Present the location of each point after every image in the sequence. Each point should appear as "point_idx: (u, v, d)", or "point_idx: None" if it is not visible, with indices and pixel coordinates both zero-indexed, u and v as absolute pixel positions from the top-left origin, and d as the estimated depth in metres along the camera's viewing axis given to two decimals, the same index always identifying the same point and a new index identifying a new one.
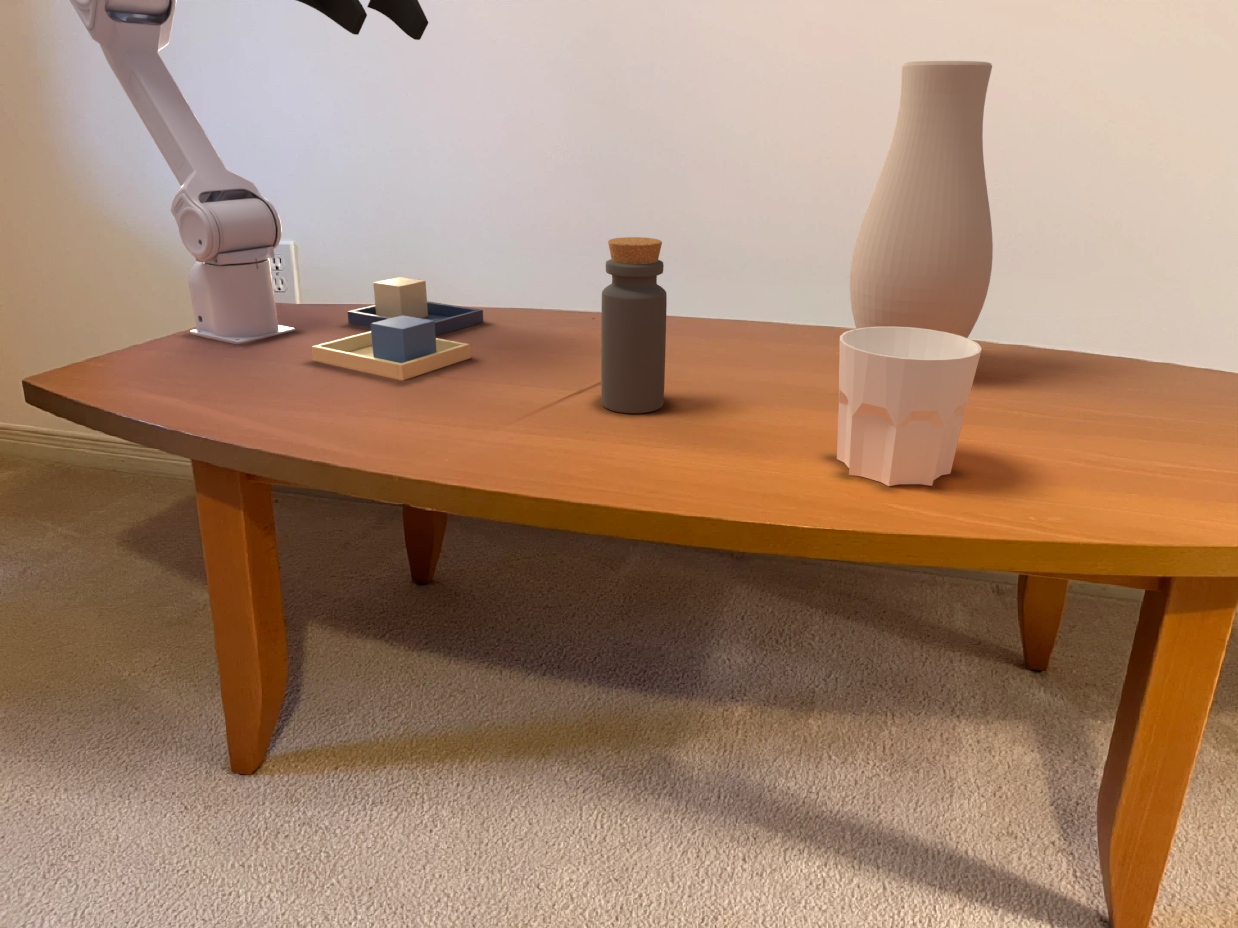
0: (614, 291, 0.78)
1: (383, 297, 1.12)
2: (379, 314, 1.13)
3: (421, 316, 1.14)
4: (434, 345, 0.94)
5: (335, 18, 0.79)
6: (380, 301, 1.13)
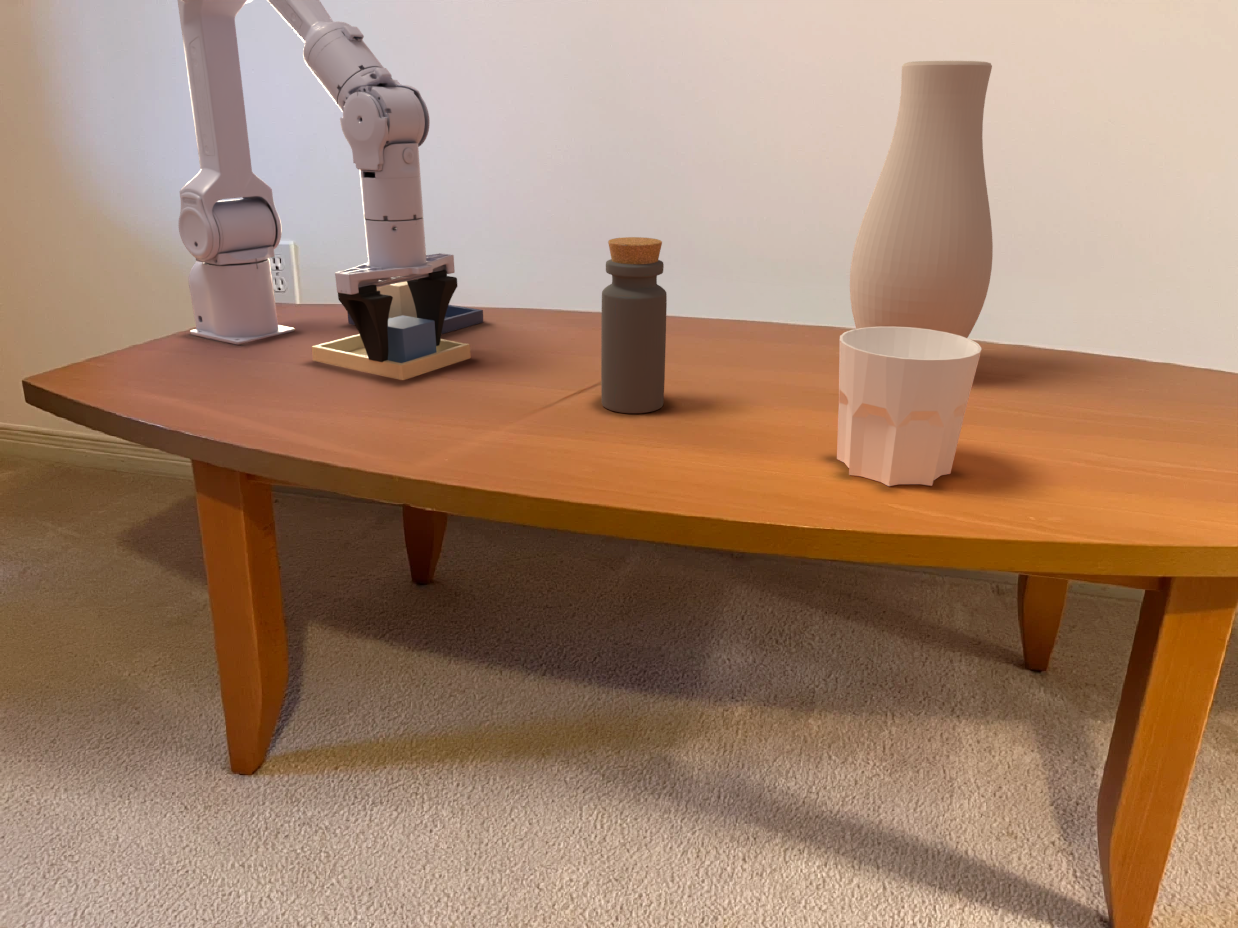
0: (614, 291, 0.78)
1: None
2: None
3: None
4: (434, 345, 0.94)
5: (363, 339, 0.90)
6: None
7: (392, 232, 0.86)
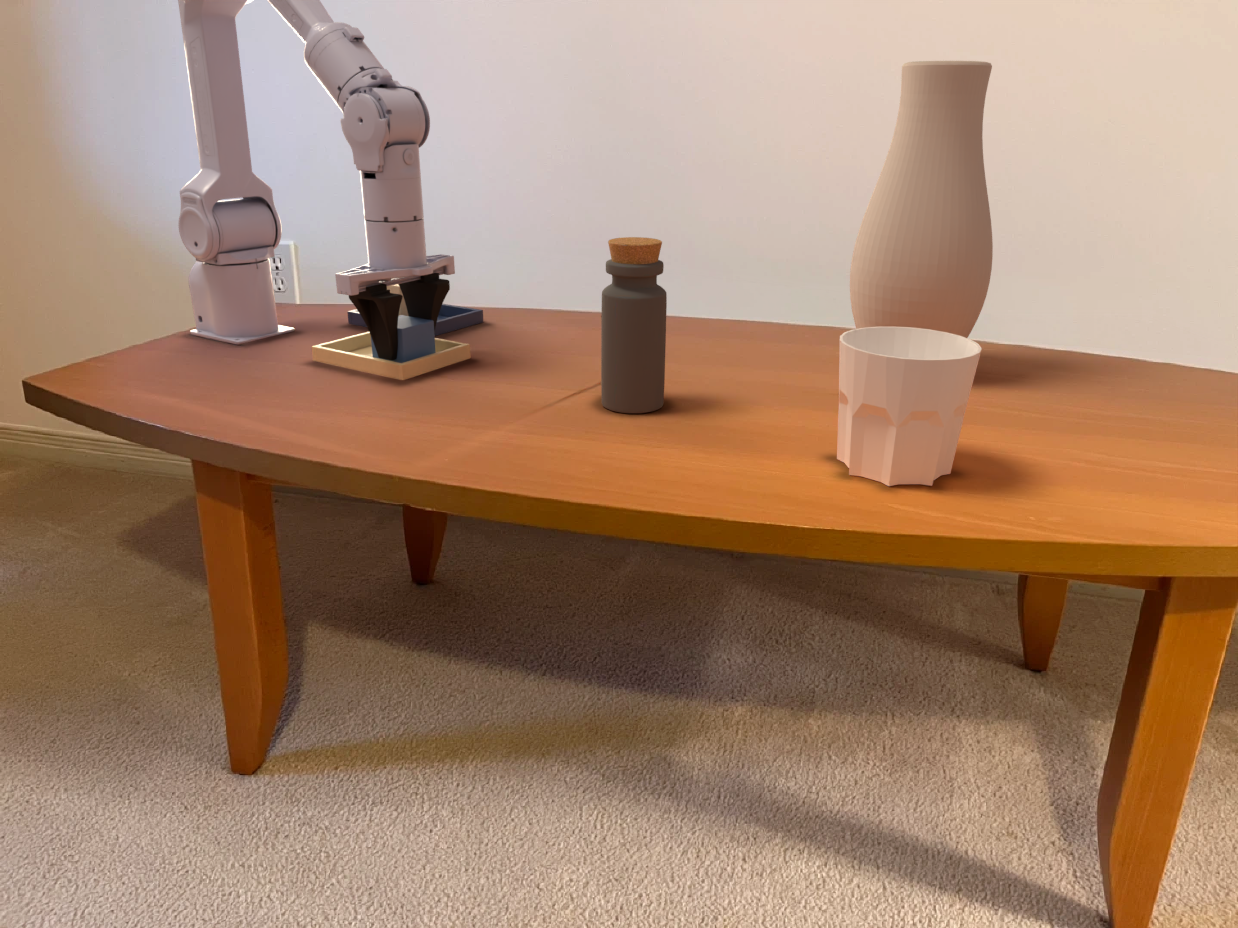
0: (614, 291, 0.78)
1: None
2: None
3: None
4: (433, 345, 0.94)
5: (373, 337, 0.91)
6: None
7: (392, 233, 0.86)
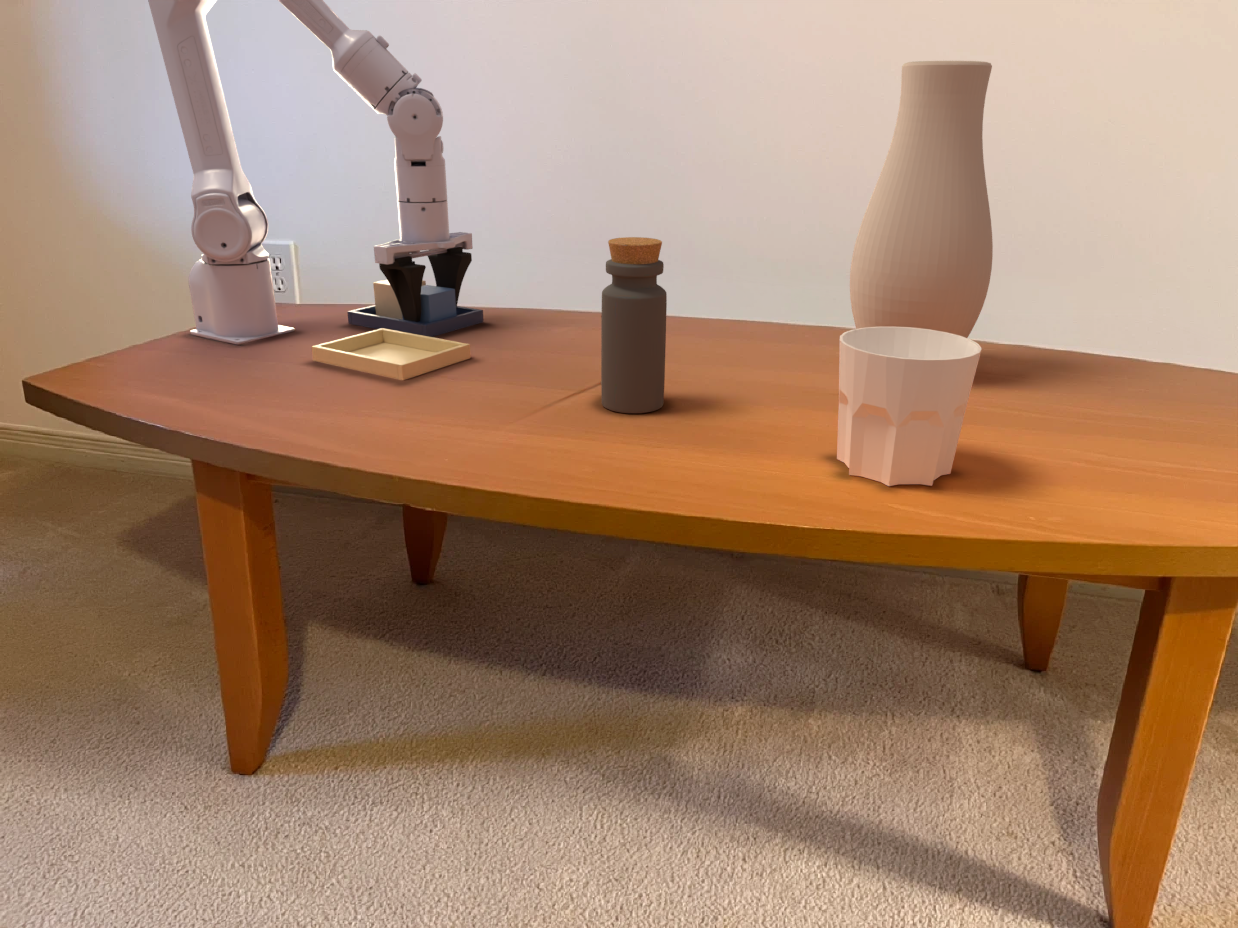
0: (614, 291, 0.78)
1: (383, 297, 1.12)
2: (379, 314, 1.13)
3: None
4: (454, 310, 1.10)
5: (400, 302, 1.06)
6: (380, 301, 1.13)
7: (421, 212, 1.02)
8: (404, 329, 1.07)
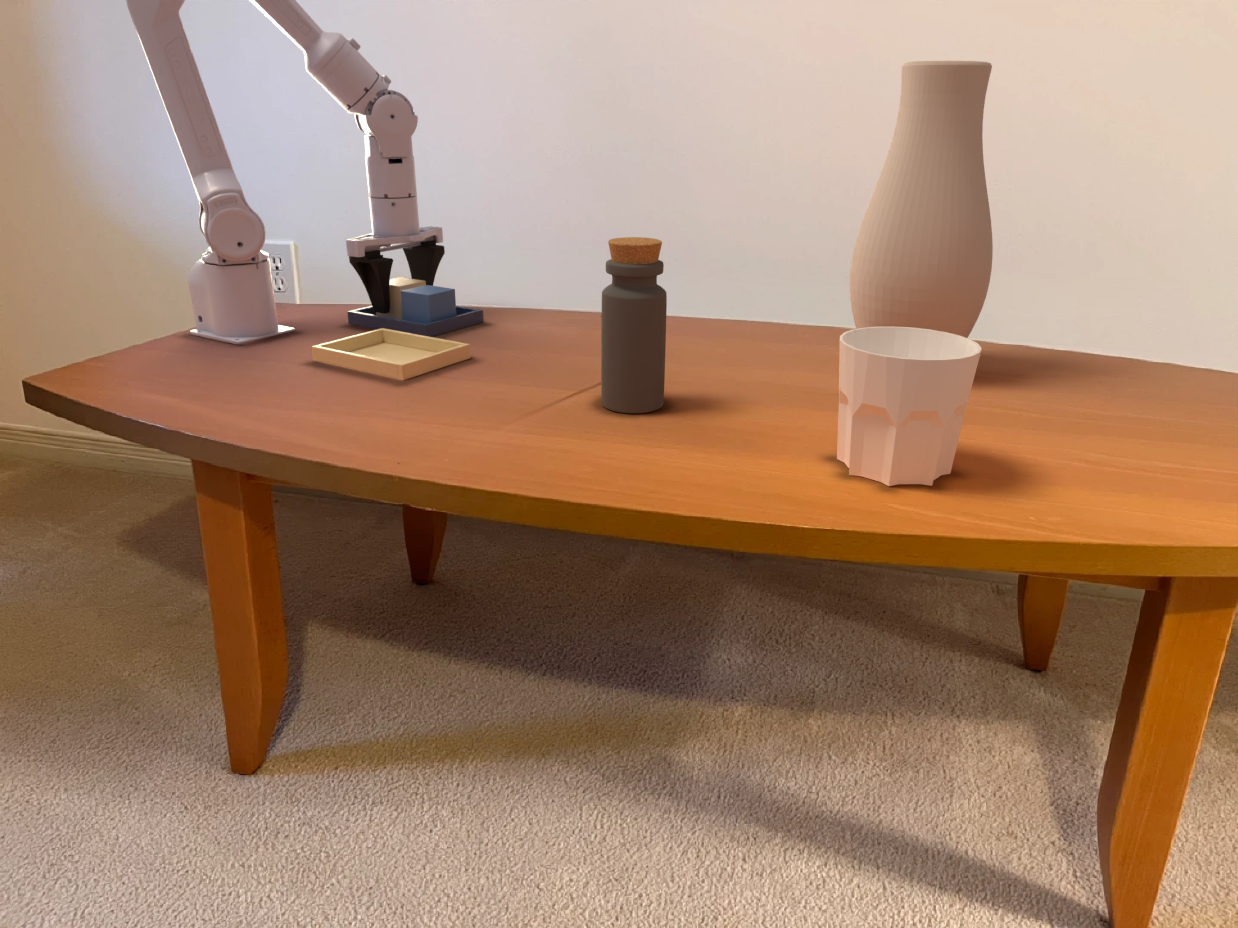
0: (614, 291, 0.78)
1: None
2: (379, 314, 1.13)
3: None
4: (454, 310, 1.10)
5: (369, 294, 1.11)
6: None
7: (391, 207, 1.07)
8: (404, 329, 1.07)
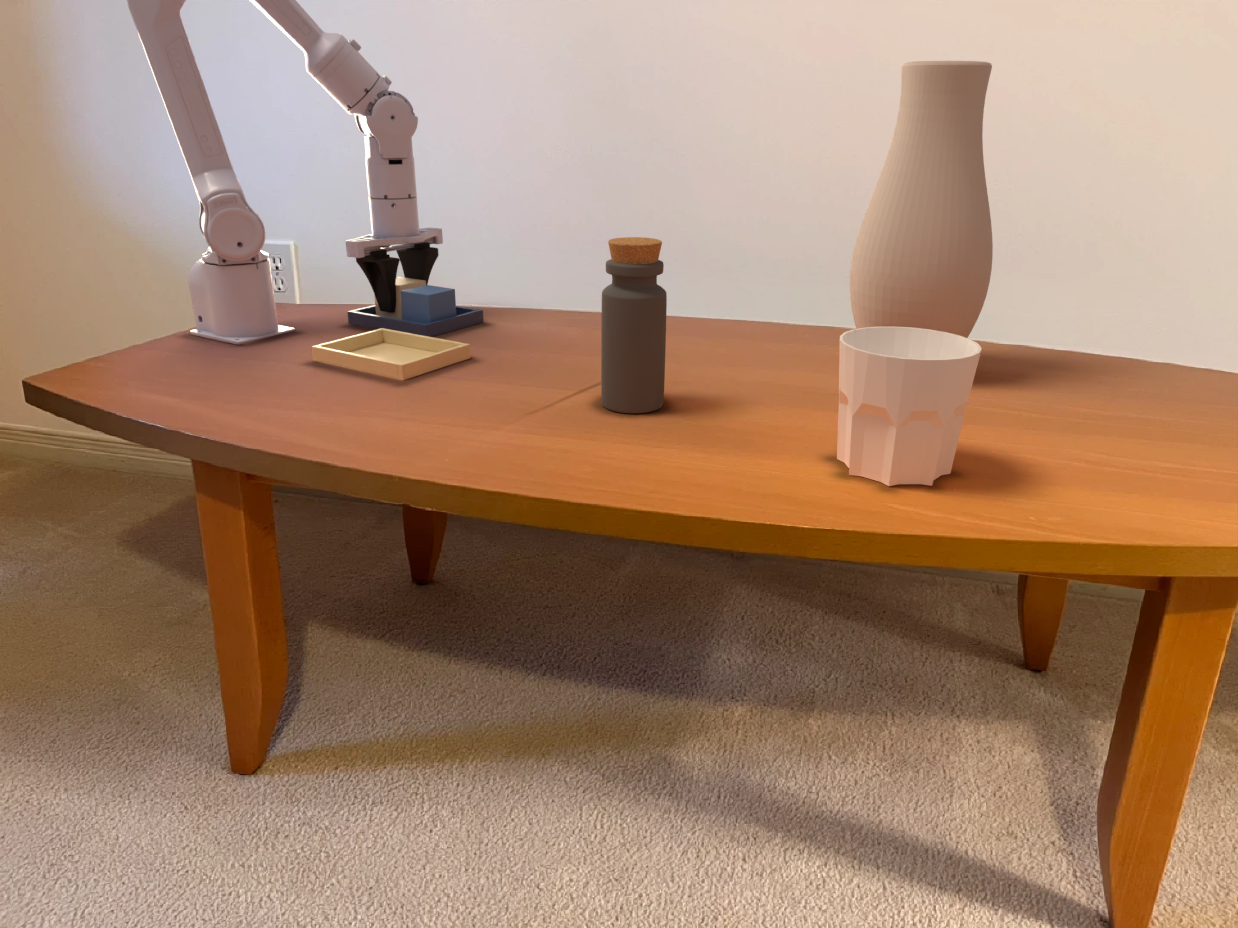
0: (614, 291, 0.78)
1: None
2: (379, 313, 1.14)
3: None
4: (454, 310, 1.10)
5: (376, 294, 1.12)
6: None
7: (391, 208, 1.07)
8: (404, 329, 1.07)
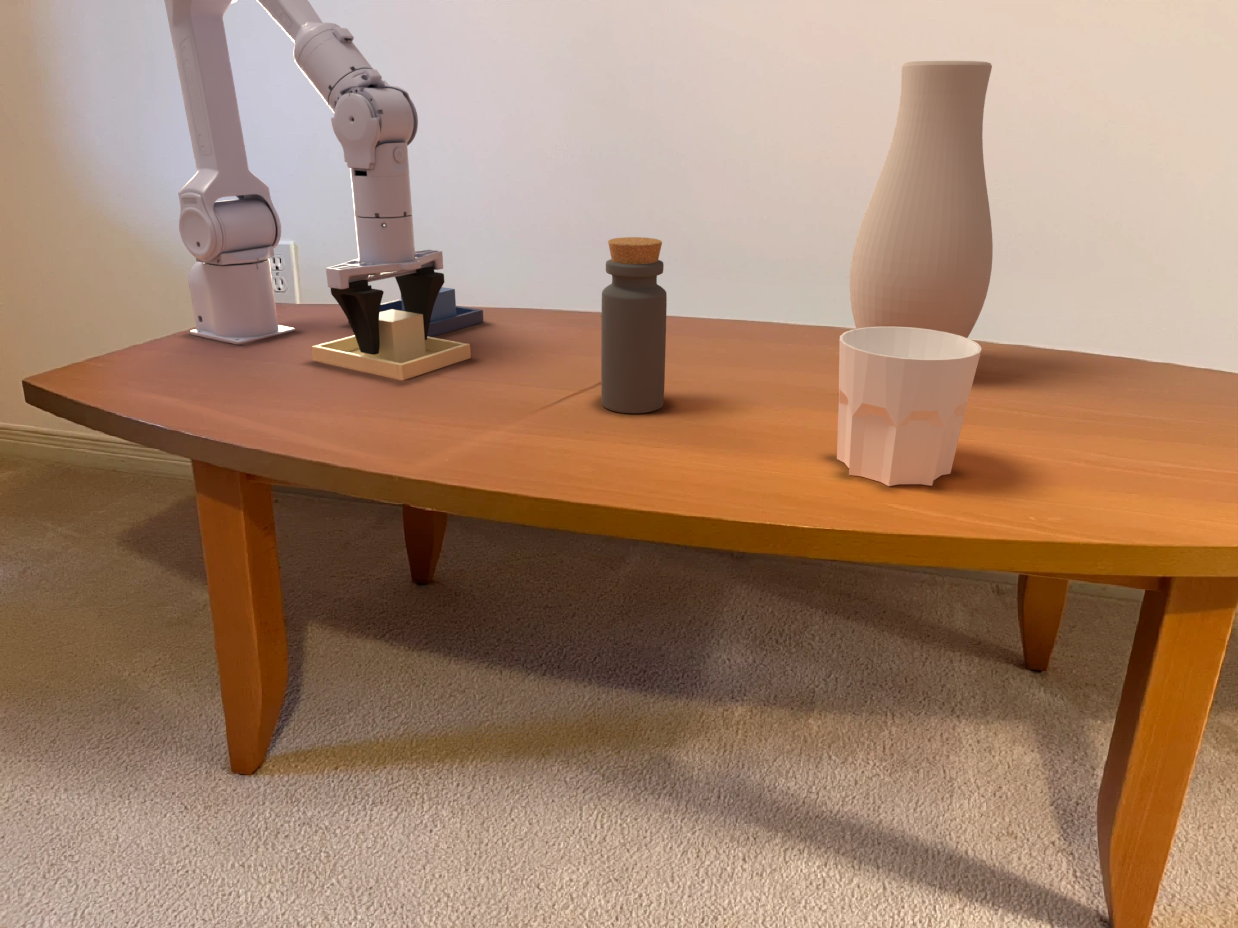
0: (614, 291, 0.78)
1: None
2: (368, 354, 0.96)
3: (418, 356, 0.96)
4: (454, 310, 1.10)
5: (355, 332, 0.93)
6: None
7: (381, 229, 0.89)
8: None
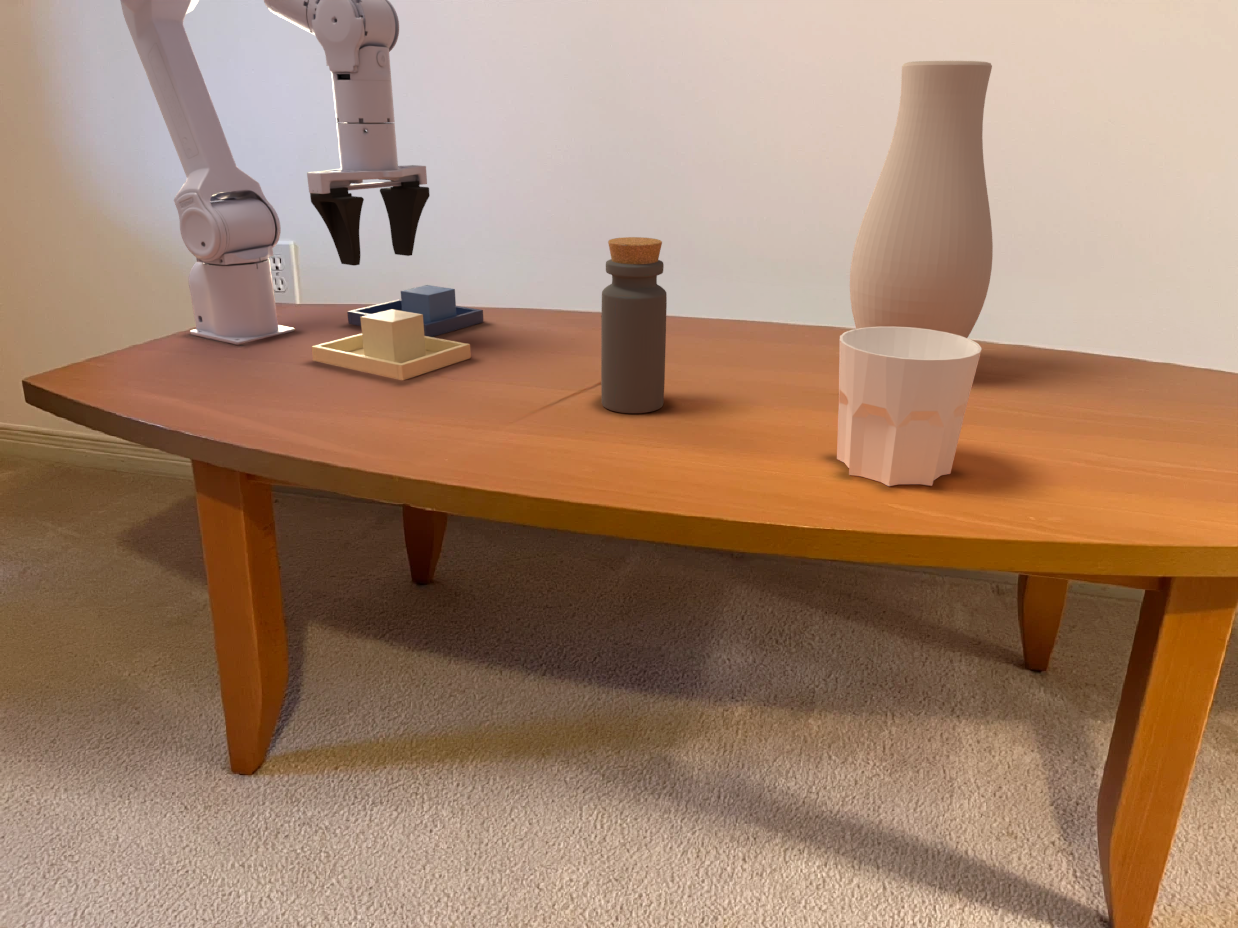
0: (614, 291, 0.78)
1: (372, 334, 0.94)
2: (368, 354, 0.96)
3: (418, 356, 0.96)
4: (454, 310, 1.10)
5: (336, 243, 0.92)
6: (369, 340, 0.95)
7: (363, 135, 0.88)
8: None
